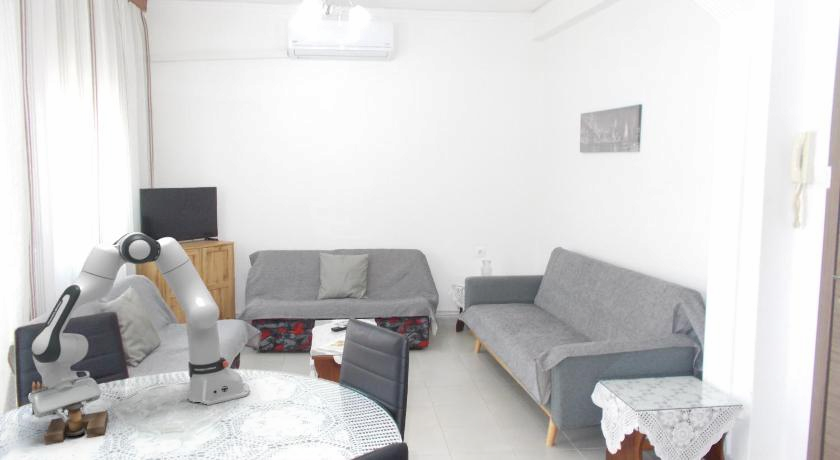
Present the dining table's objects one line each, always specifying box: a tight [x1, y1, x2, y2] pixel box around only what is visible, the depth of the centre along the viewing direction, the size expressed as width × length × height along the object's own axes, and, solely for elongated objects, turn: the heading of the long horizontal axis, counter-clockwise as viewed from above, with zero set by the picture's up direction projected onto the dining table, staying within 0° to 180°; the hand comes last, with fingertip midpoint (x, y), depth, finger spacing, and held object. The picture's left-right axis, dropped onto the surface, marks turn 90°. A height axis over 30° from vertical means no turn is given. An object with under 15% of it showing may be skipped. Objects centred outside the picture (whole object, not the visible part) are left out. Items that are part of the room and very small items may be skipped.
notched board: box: [44, 410, 109, 446], centre depth 210 cm, size 17×14×3 cm
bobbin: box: [66, 404, 86, 437], centre depth 206 cm, size 5×5×9 cm
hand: (75, 418), depth 205 cm, fingers closed on bobbin, 4 cm apart
